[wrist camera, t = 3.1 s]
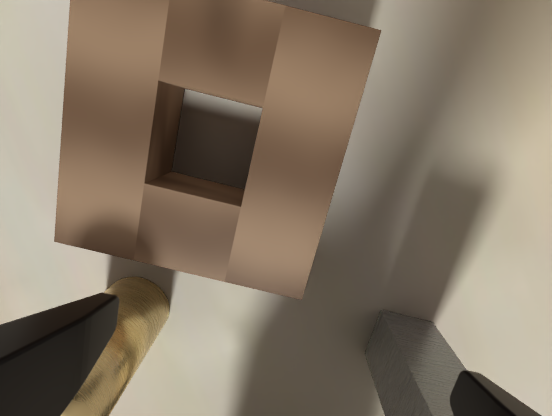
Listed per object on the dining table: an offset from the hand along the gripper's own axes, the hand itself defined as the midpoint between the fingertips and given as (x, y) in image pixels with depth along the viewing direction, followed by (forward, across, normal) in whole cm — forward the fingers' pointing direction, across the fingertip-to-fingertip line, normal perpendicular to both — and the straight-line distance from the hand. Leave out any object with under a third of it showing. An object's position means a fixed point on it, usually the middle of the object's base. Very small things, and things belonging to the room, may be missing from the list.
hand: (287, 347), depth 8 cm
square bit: (+10, -8, +5) cm, 14 cm away
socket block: (+10, +5, -4) cm, 12 cm away
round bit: (+10, +8, +7) cm, 15 cm away
